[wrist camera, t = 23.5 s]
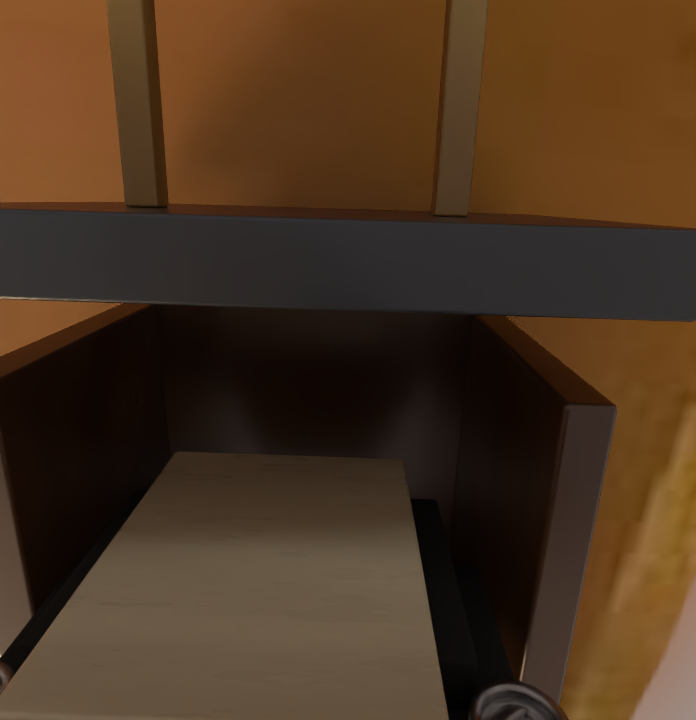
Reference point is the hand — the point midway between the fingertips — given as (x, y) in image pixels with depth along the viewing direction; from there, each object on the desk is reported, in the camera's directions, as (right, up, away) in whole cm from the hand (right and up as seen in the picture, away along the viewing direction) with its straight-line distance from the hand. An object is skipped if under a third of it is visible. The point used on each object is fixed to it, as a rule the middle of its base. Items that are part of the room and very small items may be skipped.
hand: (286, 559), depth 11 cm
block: (0, 0, 0) cm, 0 cm away
